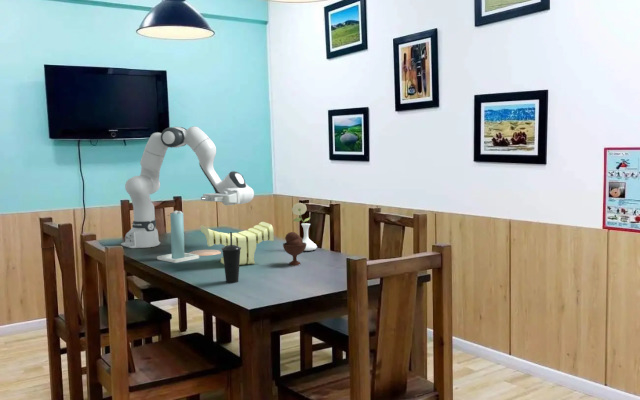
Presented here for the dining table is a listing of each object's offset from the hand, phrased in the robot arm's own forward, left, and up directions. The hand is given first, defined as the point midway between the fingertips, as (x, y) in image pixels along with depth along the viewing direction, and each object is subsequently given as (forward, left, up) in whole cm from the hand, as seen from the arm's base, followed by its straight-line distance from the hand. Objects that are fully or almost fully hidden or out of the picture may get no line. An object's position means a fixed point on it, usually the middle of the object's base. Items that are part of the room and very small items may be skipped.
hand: (207, 198), depth 290 cm
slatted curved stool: (+29, -7, -28) cm, 41 cm away
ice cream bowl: (+52, +7, -28) cm, 60 cm away
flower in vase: (+32, +37, -28) cm, 56 cm away
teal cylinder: (0, -19, -27) cm, 33 cm away
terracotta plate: (-2, -1, -28) cm, 28 cm away
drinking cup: (+55, -34, -28) cm, 71 cm away
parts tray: (0, -19, -28) cm, 34 cm away
